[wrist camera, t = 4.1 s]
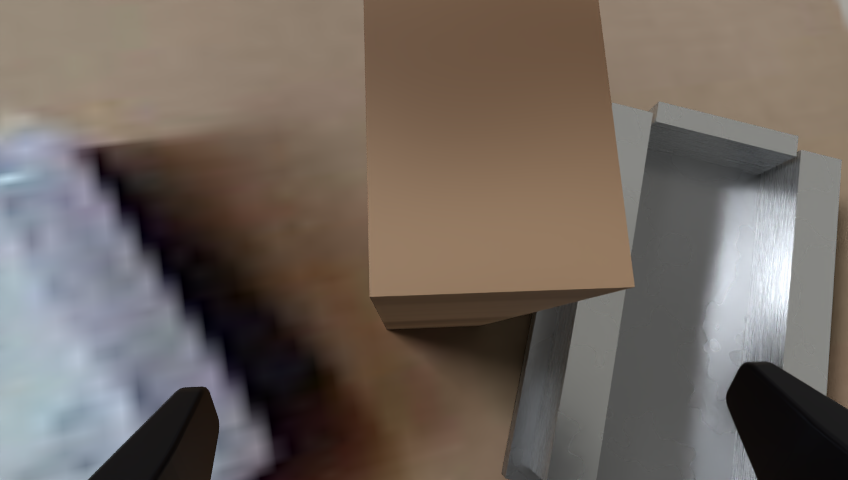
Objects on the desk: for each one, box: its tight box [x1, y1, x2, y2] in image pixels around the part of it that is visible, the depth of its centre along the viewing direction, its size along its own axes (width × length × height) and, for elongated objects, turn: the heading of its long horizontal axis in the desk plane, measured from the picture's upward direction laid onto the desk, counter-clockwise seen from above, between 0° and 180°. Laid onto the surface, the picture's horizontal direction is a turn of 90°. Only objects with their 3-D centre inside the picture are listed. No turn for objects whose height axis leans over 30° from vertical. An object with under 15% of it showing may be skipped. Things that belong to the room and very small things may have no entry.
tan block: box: [364, 0, 635, 329], centre depth 13 cm, size 6×4×12 cm, turn 2°
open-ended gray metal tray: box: [502, 102, 842, 480], centre depth 18 cm, size 14×10×3 cm
